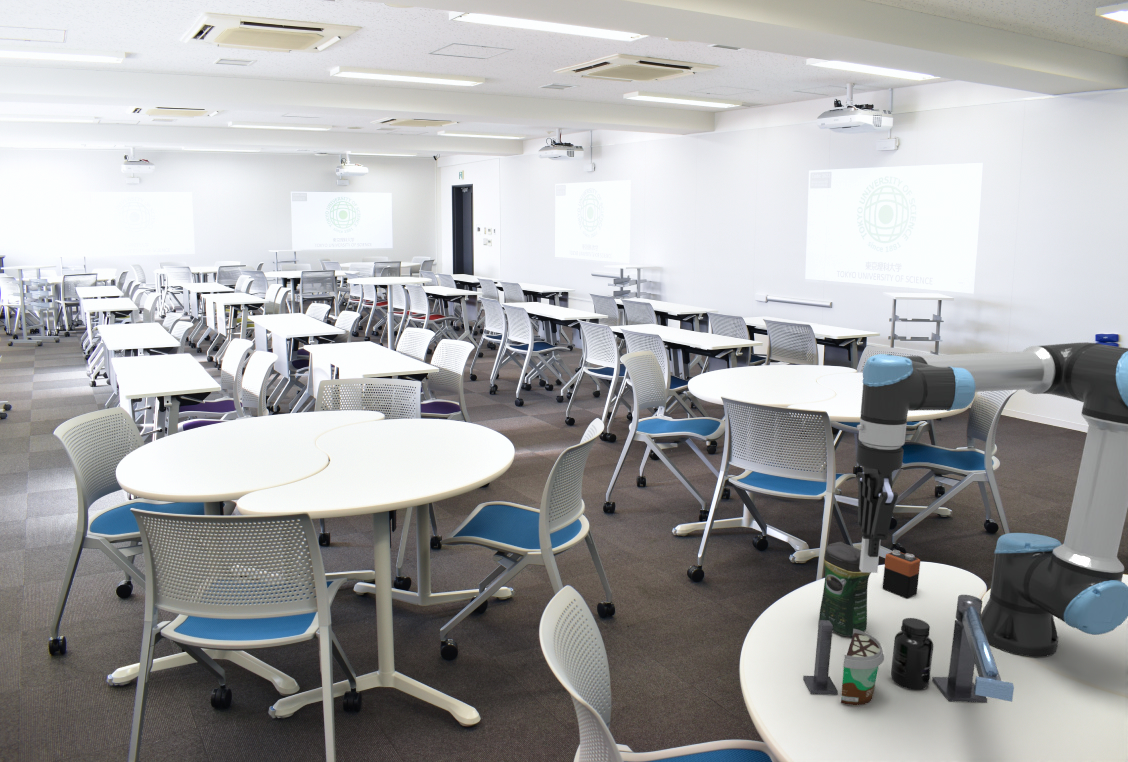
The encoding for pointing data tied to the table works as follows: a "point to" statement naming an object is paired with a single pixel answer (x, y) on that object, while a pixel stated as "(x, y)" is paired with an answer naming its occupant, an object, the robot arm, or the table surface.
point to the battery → (901, 574)
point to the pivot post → (959, 671)
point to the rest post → (822, 663)
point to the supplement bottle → (912, 655)
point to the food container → (861, 669)
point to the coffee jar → (844, 590)
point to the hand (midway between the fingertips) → (868, 570)
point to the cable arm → (981, 651)
